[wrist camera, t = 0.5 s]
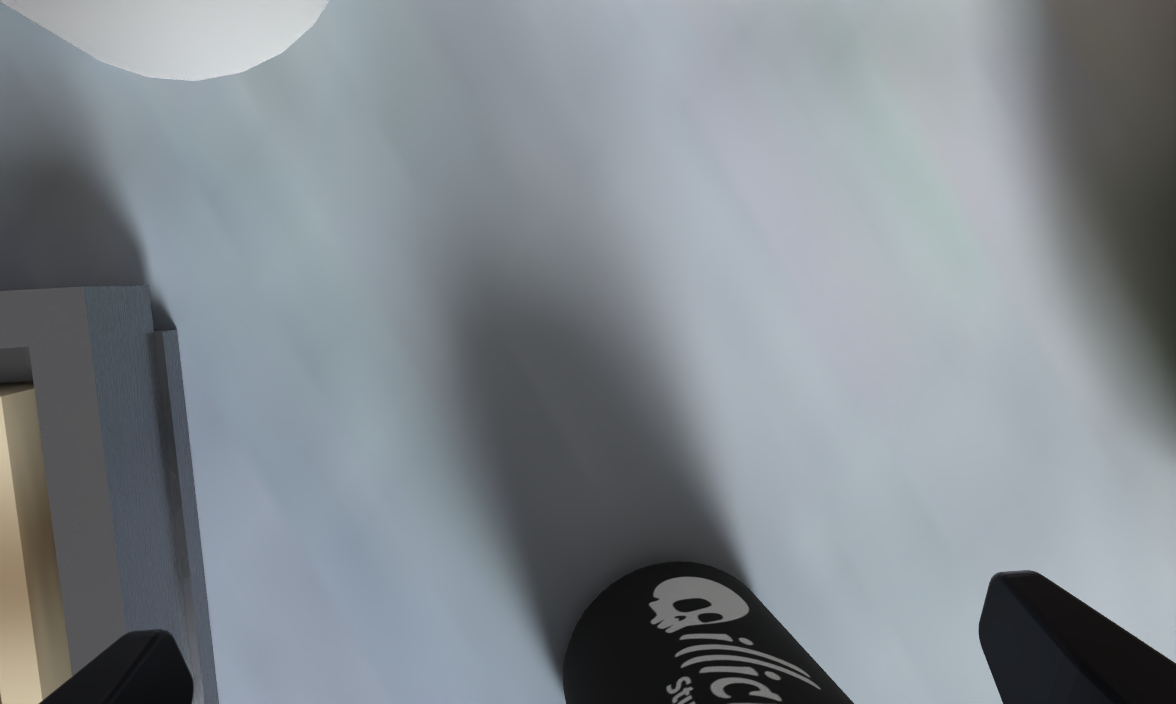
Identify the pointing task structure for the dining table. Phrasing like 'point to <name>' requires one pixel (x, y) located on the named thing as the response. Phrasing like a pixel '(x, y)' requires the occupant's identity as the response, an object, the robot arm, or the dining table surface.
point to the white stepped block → (176, 32)
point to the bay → (114, 467)
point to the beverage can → (688, 645)
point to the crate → (27, 559)
